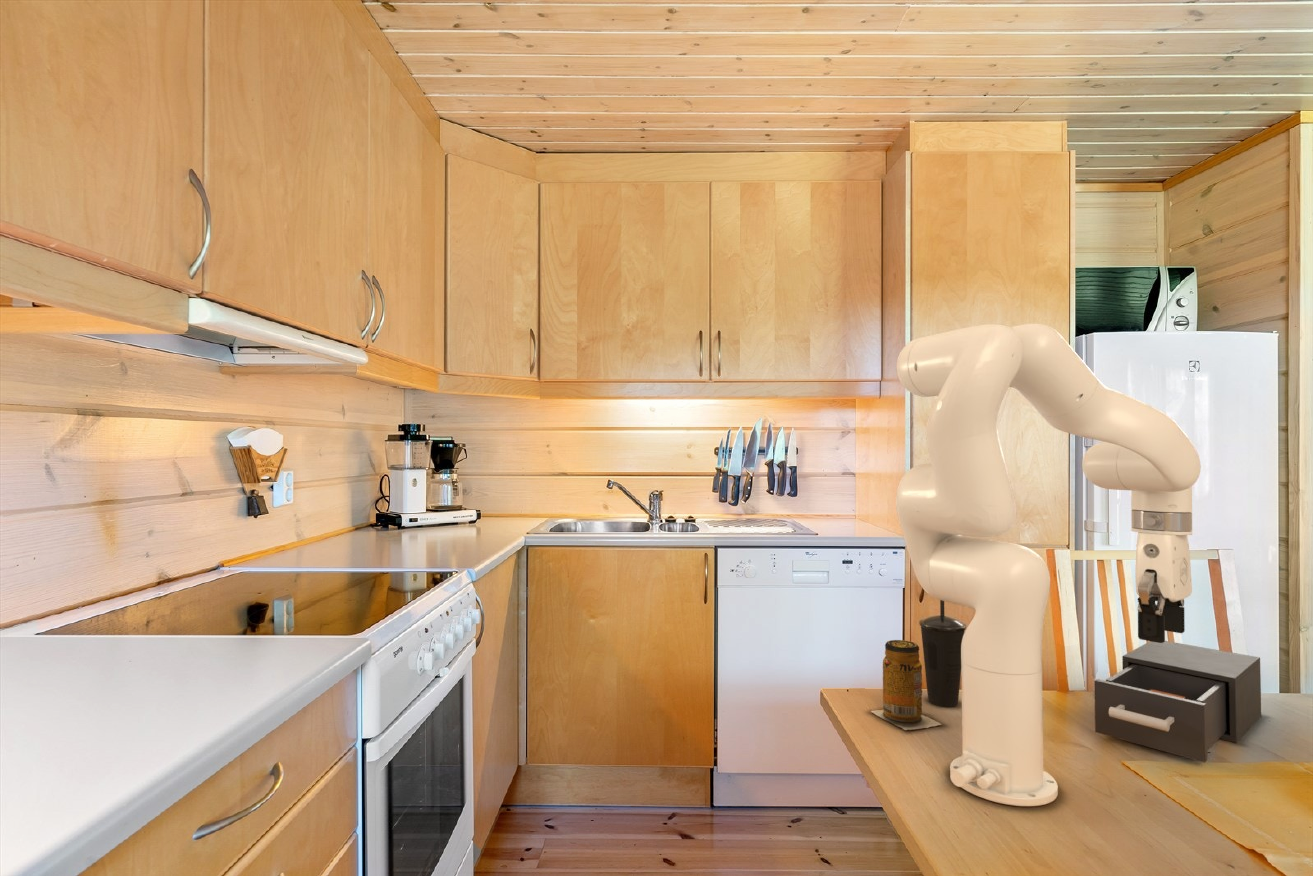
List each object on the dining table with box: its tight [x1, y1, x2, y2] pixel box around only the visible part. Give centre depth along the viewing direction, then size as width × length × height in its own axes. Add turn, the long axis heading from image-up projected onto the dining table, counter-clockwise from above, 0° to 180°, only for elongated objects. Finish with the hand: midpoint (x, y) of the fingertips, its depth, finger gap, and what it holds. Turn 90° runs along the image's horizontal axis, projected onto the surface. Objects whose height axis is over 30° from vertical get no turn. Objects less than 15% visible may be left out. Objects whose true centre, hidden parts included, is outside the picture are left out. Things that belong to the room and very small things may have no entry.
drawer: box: [1093, 663, 1227, 764], centre depth 103 cm, size 20×13×8 cm
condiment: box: [870, 639, 943, 731], centre depth 112 cm, size 7×8×12 cm
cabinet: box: [1121, 640, 1262, 744], centre depth 113 cm, size 17×15×10 cm
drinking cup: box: [918, 600, 968, 708], centre depth 119 cm, size 8×8×20 cm
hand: (1161, 636), depth 104 cm, fingers open, 9 cm apart
